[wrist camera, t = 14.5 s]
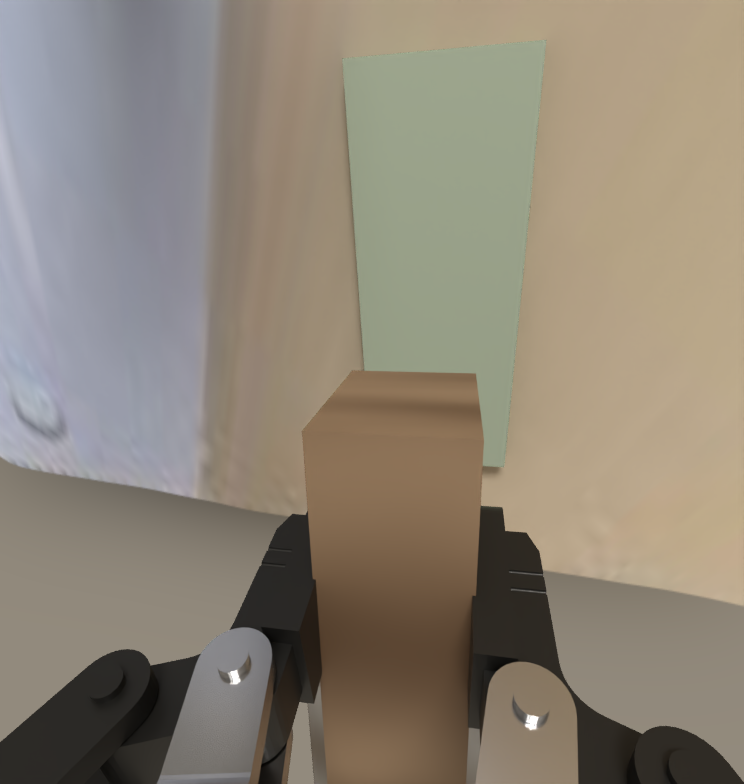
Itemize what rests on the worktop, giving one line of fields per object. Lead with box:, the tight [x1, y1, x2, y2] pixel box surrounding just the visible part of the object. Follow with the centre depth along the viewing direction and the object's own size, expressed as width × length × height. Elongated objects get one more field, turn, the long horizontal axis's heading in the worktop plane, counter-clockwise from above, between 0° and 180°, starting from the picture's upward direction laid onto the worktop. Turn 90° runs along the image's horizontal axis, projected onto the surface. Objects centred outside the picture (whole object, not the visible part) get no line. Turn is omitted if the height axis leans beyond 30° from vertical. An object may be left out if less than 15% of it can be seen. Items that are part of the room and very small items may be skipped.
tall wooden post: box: [302, 371, 484, 784], centre depth 12 cm, size 15×6×4 cm, turn 3°
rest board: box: [342, 40, 546, 467], centre depth 27 cm, size 9×23×1 cm, turn 3°
